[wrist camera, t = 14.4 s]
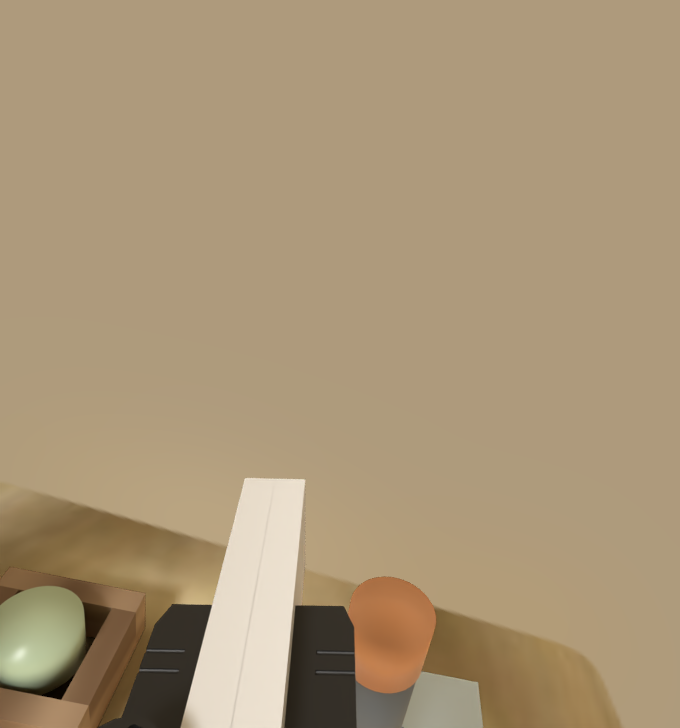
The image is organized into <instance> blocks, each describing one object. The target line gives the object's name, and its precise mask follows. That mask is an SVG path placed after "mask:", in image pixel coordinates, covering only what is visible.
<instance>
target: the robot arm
mask: <svg viewBox="0 0 680 728" xmlns="http://www.w3.org/2000/svg"><path fill="white" fill-rule="evenodd" d="M304 571H305V479H267V478H245V480H244V484H243V488H242V492H241V496H240V500H239V503H238V507H237V511H236V515H235V519H234V523H233V527H232V531H231V535H230V538H229V542H228V546H227V550H226V554H225V558H224V562H223V565H222V569H221V573H220V577H219V581H218V585H217V589H216V592H215V596H214V600H213V604H212V605H185V604H172V605H171V607H170V608H169V609H168V610H167V611H166V612H165V614H164V615H163V616H162V617H161V618H160V619H159V621H158V622H157V623H156V624H155V626H154V629H153V632H152V635H151V637H150V640H149V643H148V646H147V650H146V653H145V654H144V657H143V660H142V662H141V665H140V670H139V673H138V674H137V676H136V679H135V682H134V685H133V687H132V690H131V693H130V696H129V699H128V701H127V704H126V707H125V710H124V713H123V715H122V718H118V719H114V720H112V721H110V722H108V723H106V724H104V725H102V726H100V727H98V728H357V719H356V678H355V637H354V626H353V624H352V622H351V620H350V618H349V616H348V614H347V612H346V610H345V608H344V606H302V596H303V584H304Z"/></svg>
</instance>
